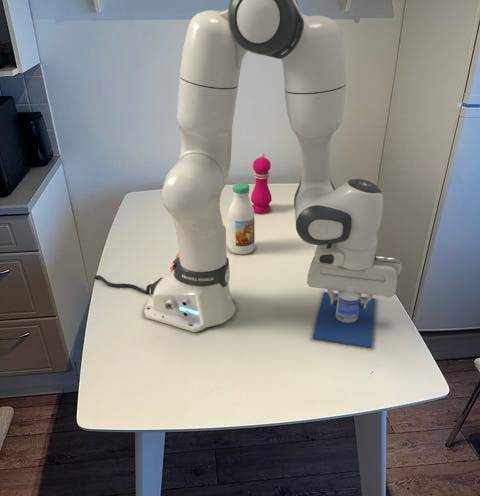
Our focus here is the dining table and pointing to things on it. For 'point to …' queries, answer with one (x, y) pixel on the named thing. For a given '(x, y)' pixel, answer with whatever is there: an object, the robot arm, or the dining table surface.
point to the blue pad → (344, 325)
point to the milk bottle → (241, 221)
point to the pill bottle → (348, 305)
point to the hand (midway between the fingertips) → (348, 305)
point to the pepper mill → (261, 186)
